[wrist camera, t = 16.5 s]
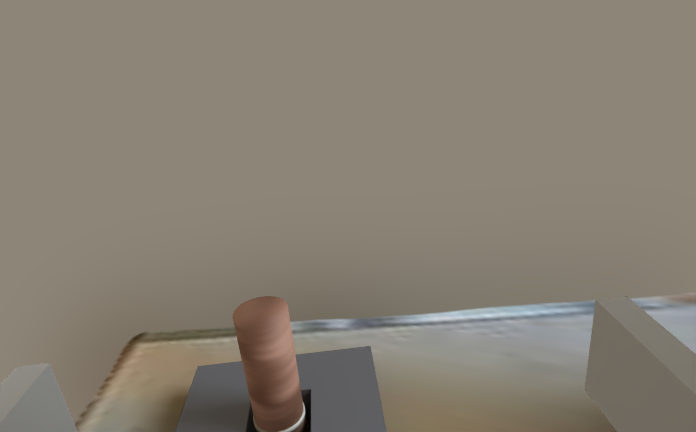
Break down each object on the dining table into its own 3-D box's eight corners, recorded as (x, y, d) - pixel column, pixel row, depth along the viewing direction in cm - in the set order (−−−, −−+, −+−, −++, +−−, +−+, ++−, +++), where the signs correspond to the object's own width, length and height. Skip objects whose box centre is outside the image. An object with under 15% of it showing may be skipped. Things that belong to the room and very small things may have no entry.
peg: (310, 423, 49) (290, 292, 43) (309, 464, 44) (287, 324, 38) (263, 429, 48) (236, 299, 43) (257, 471, 44) (227, 330, 38)
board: (372, 373, 55) (370, 346, 54) (398, 520, 38) (396, 485, 37) (204, 393, 54) (197, 366, 53) (156, 551, 38) (144, 518, 36)
